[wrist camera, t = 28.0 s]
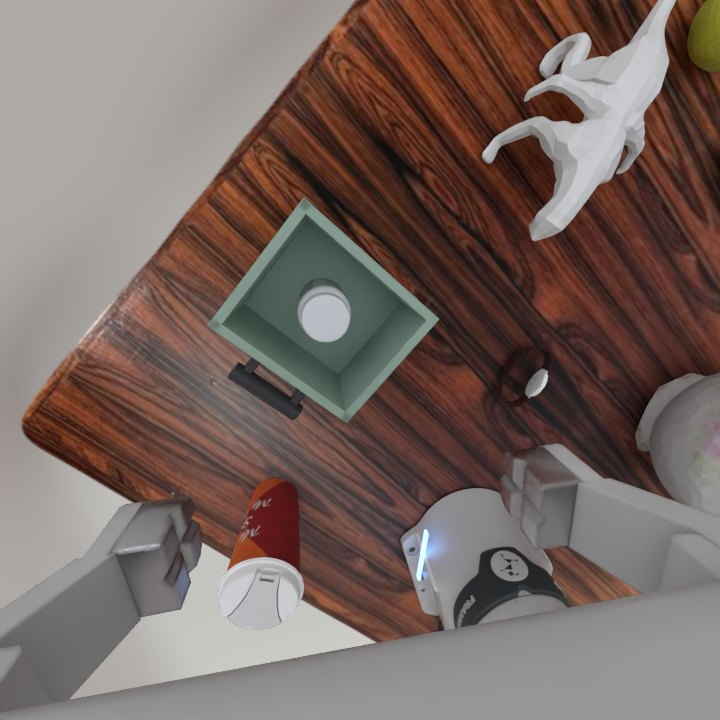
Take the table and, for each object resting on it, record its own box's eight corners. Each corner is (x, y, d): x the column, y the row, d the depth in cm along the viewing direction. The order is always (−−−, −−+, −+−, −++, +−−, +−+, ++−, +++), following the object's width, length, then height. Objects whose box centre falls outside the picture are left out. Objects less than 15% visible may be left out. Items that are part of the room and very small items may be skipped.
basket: (409, 299, 39) (321, 401, 42) (306, 208, 35) (216, 327, 37) (439, 319, 30) (324, 449, 32) (303, 197, 26) (183, 357, 28)
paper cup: (251, 465, 43) (223, 564, 30) (313, 477, 45) (313, 576, 32) (237, 517, 45) (206, 631, 32) (297, 526, 47) (291, 639, 34)
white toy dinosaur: (447, 210, 37) (493, 200, 27) (599, -66, 31) (724, -198, 22) (536, 267, 40) (605, 276, 30) (690, 26, 34) (833, -56, 25)
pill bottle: (305, 328, 38) (303, 352, 30) (294, 283, 36) (289, 296, 28) (349, 318, 38) (359, 340, 30) (340, 273, 36) (348, 283, 29)
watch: (514, 405, 45) (530, 419, 42) (484, 390, 44) (499, 403, 40) (550, 352, 43) (570, 362, 40) (520, 335, 42) (539, 344, 39)
